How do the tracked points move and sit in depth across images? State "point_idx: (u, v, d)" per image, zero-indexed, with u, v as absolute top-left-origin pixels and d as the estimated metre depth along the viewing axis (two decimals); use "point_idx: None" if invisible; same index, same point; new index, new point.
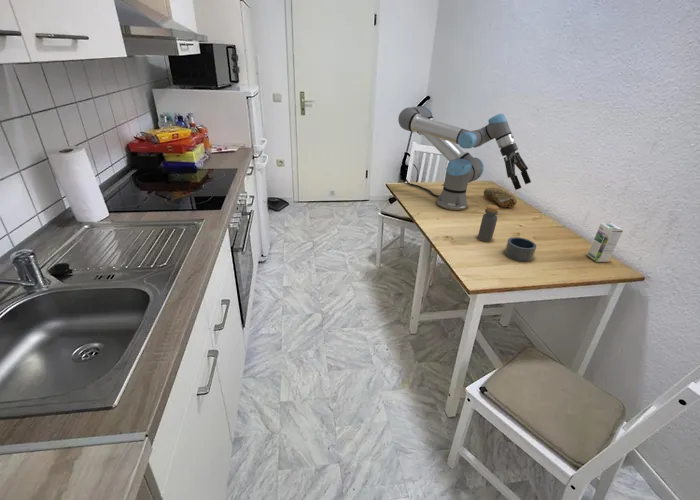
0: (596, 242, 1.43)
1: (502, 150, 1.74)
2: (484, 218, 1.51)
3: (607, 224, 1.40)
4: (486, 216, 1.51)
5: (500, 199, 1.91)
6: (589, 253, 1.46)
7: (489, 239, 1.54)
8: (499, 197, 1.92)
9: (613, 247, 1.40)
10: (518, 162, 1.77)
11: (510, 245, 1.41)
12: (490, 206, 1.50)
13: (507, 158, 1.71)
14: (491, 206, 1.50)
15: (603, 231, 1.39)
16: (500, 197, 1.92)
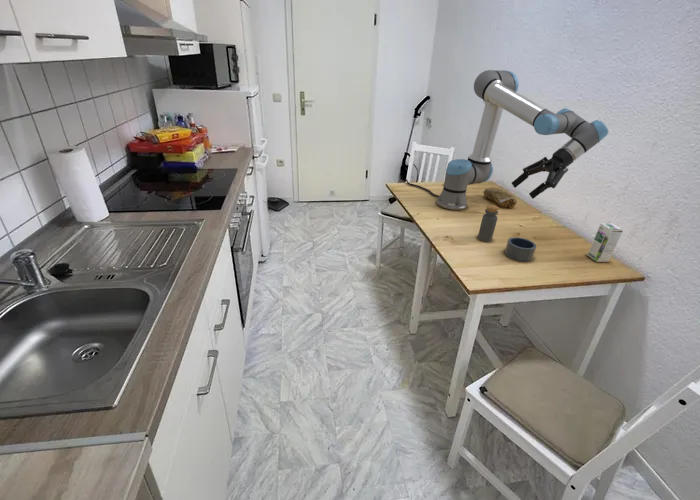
0: (595, 242, 1.43)
1: (568, 155, 1.39)
2: (484, 218, 1.51)
3: (607, 224, 1.40)
4: (486, 216, 1.51)
5: (500, 199, 1.91)
6: (589, 253, 1.46)
7: (489, 239, 1.54)
8: (499, 197, 1.92)
9: (613, 247, 1.40)
10: (542, 170, 1.48)
11: (510, 245, 1.41)
12: (490, 206, 1.50)
13: (566, 170, 1.38)
14: (491, 206, 1.50)
15: (603, 231, 1.39)
16: (500, 197, 1.92)
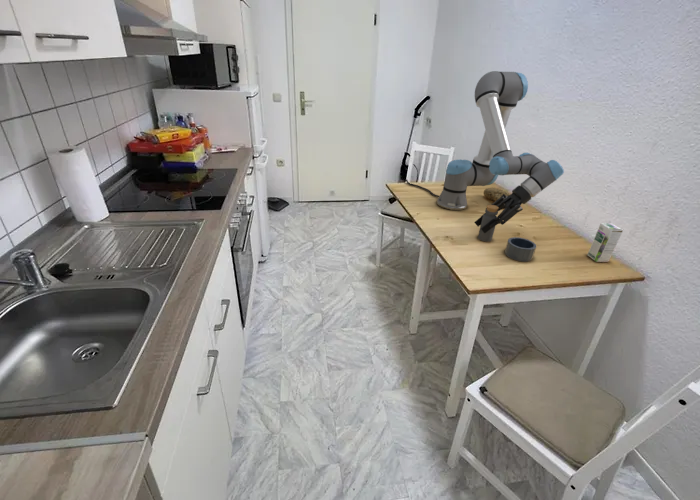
0: (595, 242, 1.43)
1: (525, 193, 1.45)
2: (484, 218, 1.51)
3: (607, 224, 1.40)
4: (486, 216, 1.51)
5: None
6: (589, 253, 1.46)
7: (489, 239, 1.54)
8: (499, 197, 1.92)
9: (613, 247, 1.40)
10: (503, 207, 1.52)
11: (510, 245, 1.41)
12: (490, 206, 1.50)
13: (519, 210, 1.44)
14: (491, 206, 1.50)
15: (603, 231, 1.39)
16: None
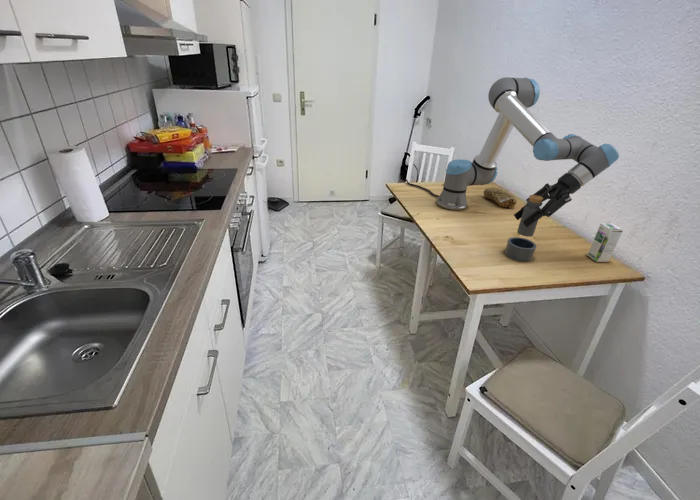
0: (595, 242, 1.43)
1: (575, 181, 1.28)
2: (526, 210, 1.35)
3: (607, 224, 1.40)
4: (529, 208, 1.34)
5: (500, 199, 1.91)
6: (589, 253, 1.46)
7: (531, 234, 1.37)
8: (499, 197, 1.92)
9: (613, 247, 1.40)
10: (547, 197, 1.36)
11: (510, 245, 1.41)
12: (533, 196, 1.33)
13: (568, 200, 1.28)
14: (534, 196, 1.33)
15: (603, 231, 1.39)
16: (500, 197, 1.92)
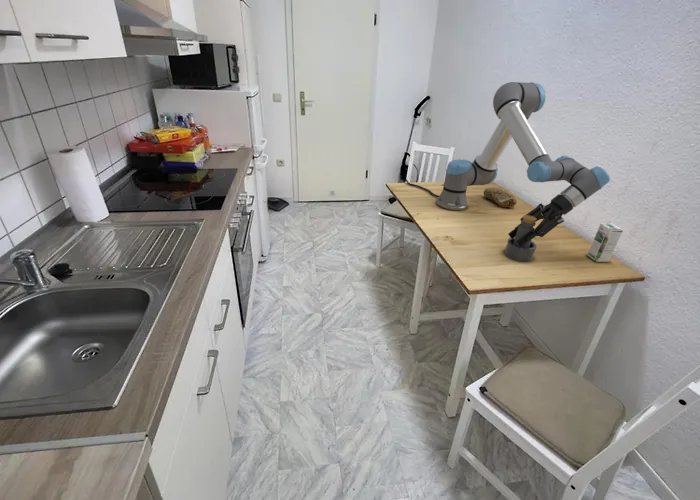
0: (595, 242, 1.43)
1: (567, 203, 1.32)
2: (520, 230, 1.39)
3: (607, 224, 1.40)
4: (522, 228, 1.38)
5: (500, 199, 1.91)
6: (589, 253, 1.46)
7: None
8: (499, 197, 1.92)
9: (613, 247, 1.40)
10: (541, 217, 1.40)
11: (510, 245, 1.41)
12: (527, 217, 1.37)
13: (560, 221, 1.32)
14: (528, 217, 1.37)
15: (603, 231, 1.39)
16: (500, 197, 1.92)
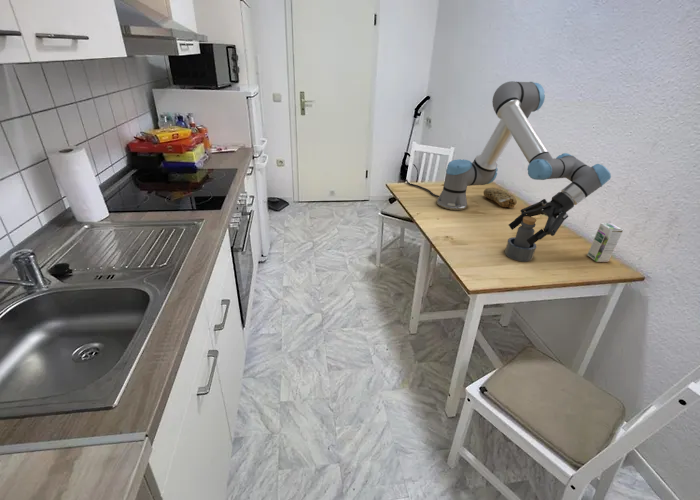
0: (595, 242, 1.43)
1: (568, 201, 1.32)
2: (520, 231, 1.39)
3: (607, 224, 1.40)
4: (522, 229, 1.38)
5: (500, 199, 1.91)
6: (589, 253, 1.46)
7: None
8: (499, 197, 1.92)
9: (613, 247, 1.40)
10: (540, 213, 1.40)
11: (510, 245, 1.41)
12: (527, 218, 1.37)
13: (565, 216, 1.31)
14: (528, 218, 1.37)
15: (603, 231, 1.39)
16: (500, 197, 1.92)
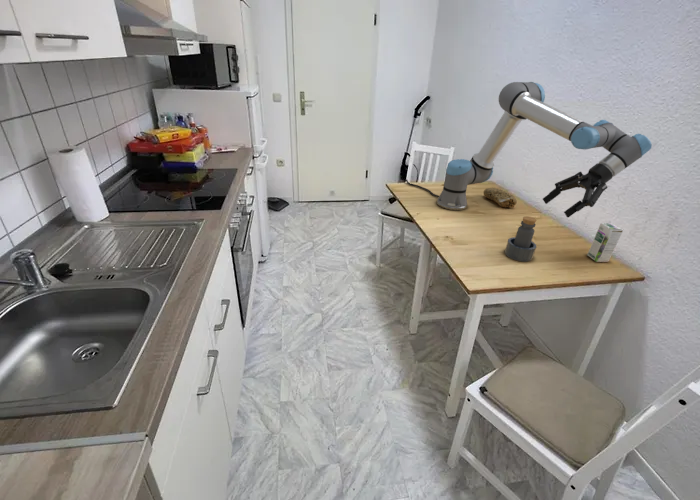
0: (595, 242, 1.43)
1: (607, 171, 1.29)
2: (520, 231, 1.39)
3: (607, 224, 1.40)
4: (522, 229, 1.38)
5: (500, 199, 1.91)
6: (589, 253, 1.46)
7: None
8: (499, 197, 1.92)
9: (613, 247, 1.40)
10: (576, 186, 1.38)
11: (510, 245, 1.41)
12: (527, 218, 1.37)
13: (605, 187, 1.28)
14: (528, 218, 1.37)
15: (603, 231, 1.39)
16: (500, 197, 1.92)
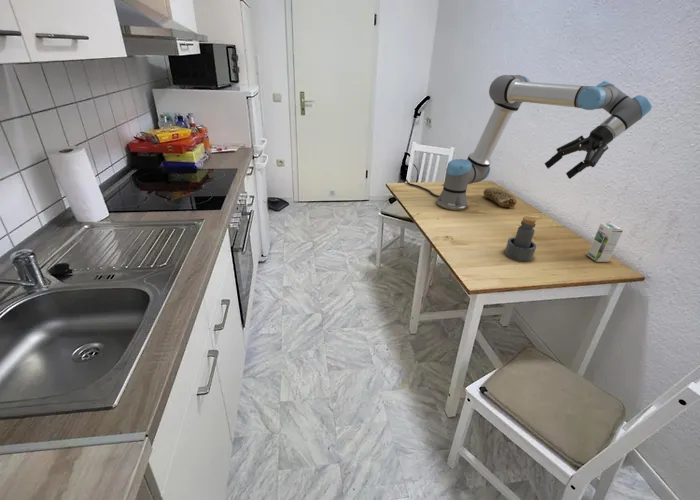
0: (595, 242, 1.43)
1: (608, 133, 1.32)
2: (520, 231, 1.39)
3: (607, 224, 1.40)
4: (522, 229, 1.38)
5: (500, 199, 1.91)
6: (589, 253, 1.46)
7: None
8: (499, 197, 1.92)
9: (613, 247, 1.40)
10: (578, 149, 1.41)
11: (510, 245, 1.41)
12: (527, 218, 1.37)
13: (606, 148, 1.31)
14: (528, 218, 1.37)
15: (603, 231, 1.39)
16: (500, 197, 1.92)
